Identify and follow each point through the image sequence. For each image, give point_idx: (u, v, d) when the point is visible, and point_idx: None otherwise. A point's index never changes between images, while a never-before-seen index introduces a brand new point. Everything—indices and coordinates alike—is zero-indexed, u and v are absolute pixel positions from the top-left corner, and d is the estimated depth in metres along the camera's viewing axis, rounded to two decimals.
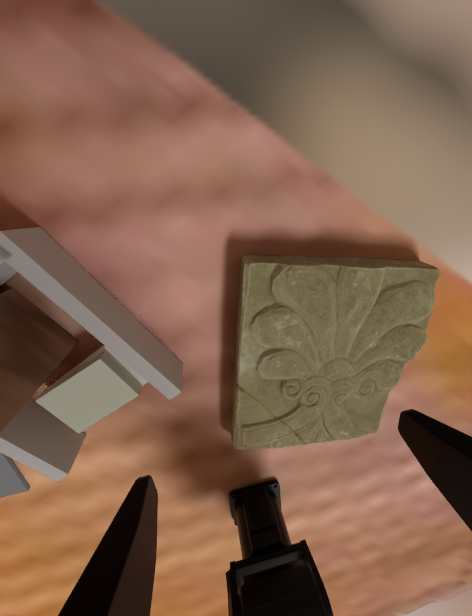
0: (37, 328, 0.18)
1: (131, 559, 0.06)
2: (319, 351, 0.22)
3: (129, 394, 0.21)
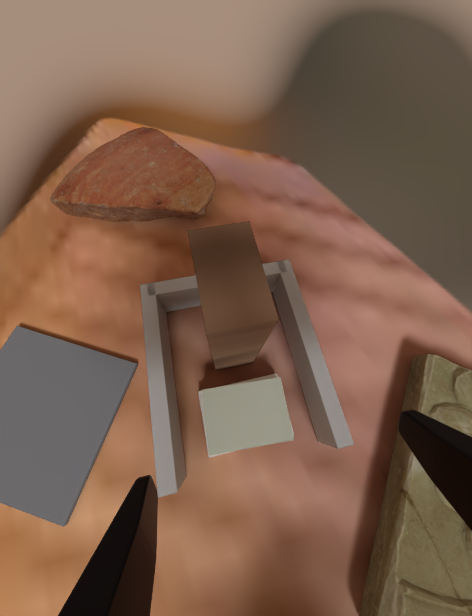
0: None
1: (131, 559, 0.06)
2: None
3: (285, 432, 0.19)
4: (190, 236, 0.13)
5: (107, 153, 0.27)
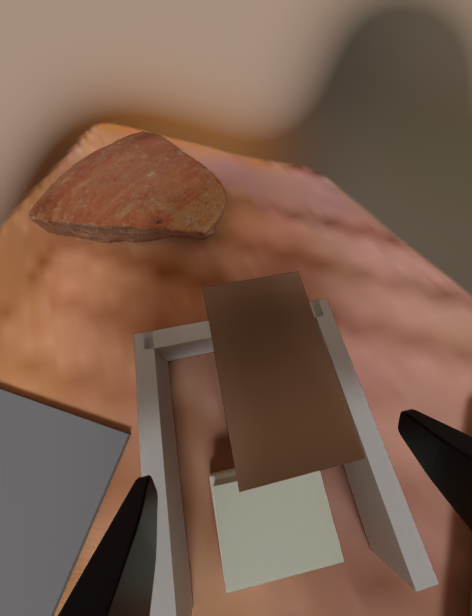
0: None
1: (131, 559, 0.06)
2: None
3: (331, 550, 0.13)
4: (207, 298, 0.08)
5: (97, 161, 0.22)
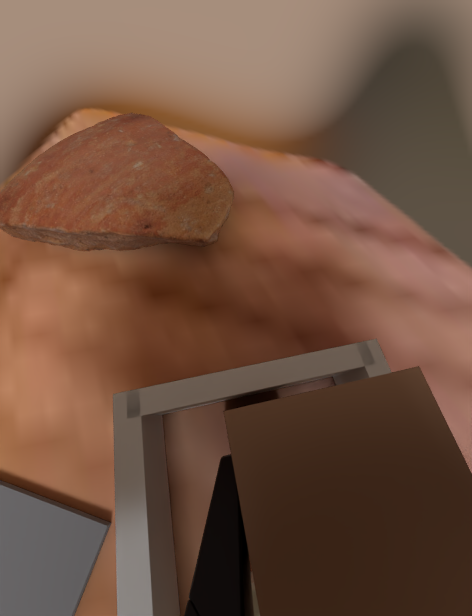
0: None
1: (242, 527, 0.06)
2: None
3: None
4: (235, 439, 0.04)
5: (71, 148, 0.17)
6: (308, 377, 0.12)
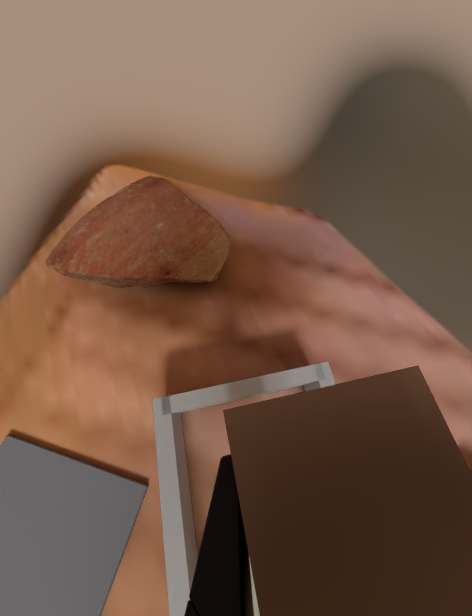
0: None
1: (242, 527, 0.06)
2: None
3: None
4: (234, 438, 0.04)
5: (109, 212, 0.24)
6: (280, 388, 0.18)
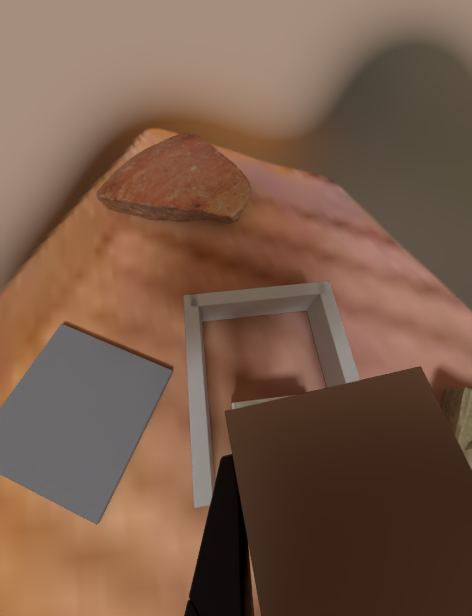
0: None
1: (242, 527, 0.06)
2: None
3: None
4: (236, 439, 0.04)
5: (152, 155, 0.28)
6: (287, 296, 0.22)
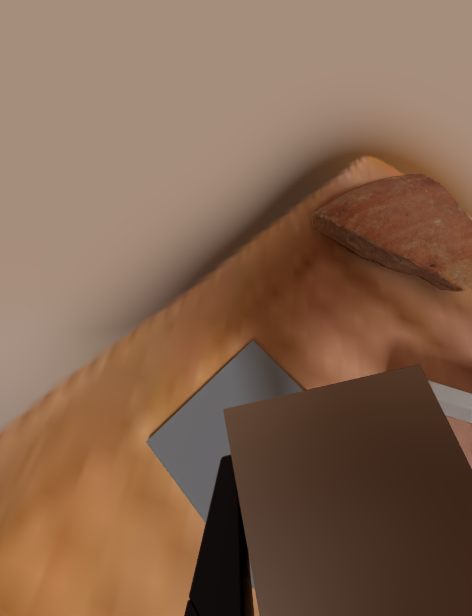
0: None
1: (242, 527, 0.06)
2: None
3: None
4: (234, 438, 0.04)
5: (393, 192, 0.26)
6: None
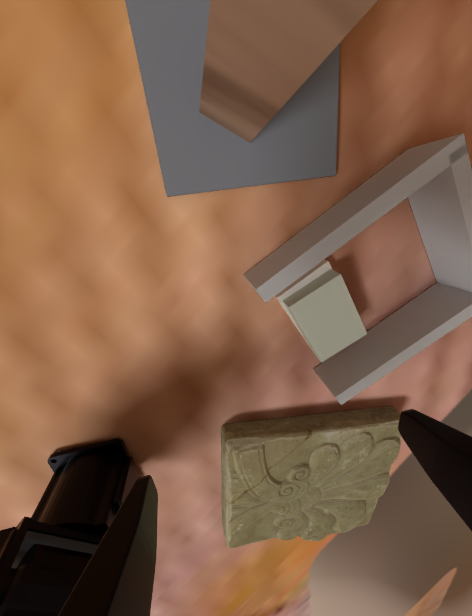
0: None
1: (131, 559, 0.06)
2: (330, 481, 0.27)
3: (324, 355, 0.21)
4: None
5: None
6: None
